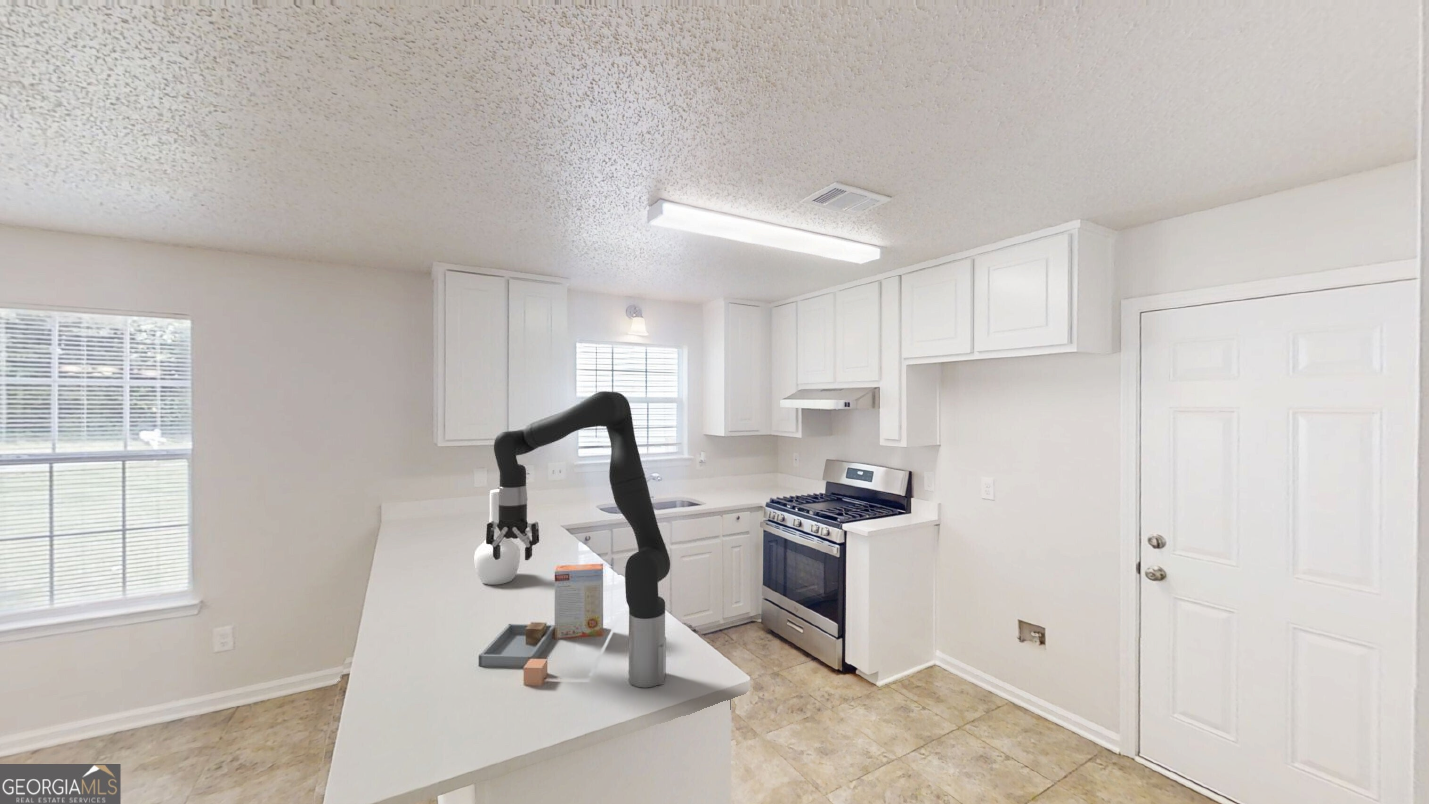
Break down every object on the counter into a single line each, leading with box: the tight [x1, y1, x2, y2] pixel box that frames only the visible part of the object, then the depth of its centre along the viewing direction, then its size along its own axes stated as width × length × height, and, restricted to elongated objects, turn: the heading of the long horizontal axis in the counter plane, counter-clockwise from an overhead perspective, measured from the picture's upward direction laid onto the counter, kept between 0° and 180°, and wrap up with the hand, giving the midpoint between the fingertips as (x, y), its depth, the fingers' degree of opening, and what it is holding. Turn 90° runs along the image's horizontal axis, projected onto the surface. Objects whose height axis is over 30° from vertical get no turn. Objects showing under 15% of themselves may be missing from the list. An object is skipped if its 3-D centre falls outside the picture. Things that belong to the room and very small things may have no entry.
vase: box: [473, 488, 521, 586], centre depth 212 cm, size 17×17×35 cm
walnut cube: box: [526, 621, 547, 645], centre depth 158 cm, size 4×4×4 cm
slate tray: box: [478, 623, 555, 668], centre depth 154 cm, size 14×20×4 cm
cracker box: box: [554, 563, 604, 639], centre depth 164 cm, size 14×6×21 cm, turn 99°
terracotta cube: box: [523, 658, 548, 686], centre depth 138 cm, size 4×4×4 cm
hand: (512, 559), depth 153 cm, fingers open, 8 cm apart
